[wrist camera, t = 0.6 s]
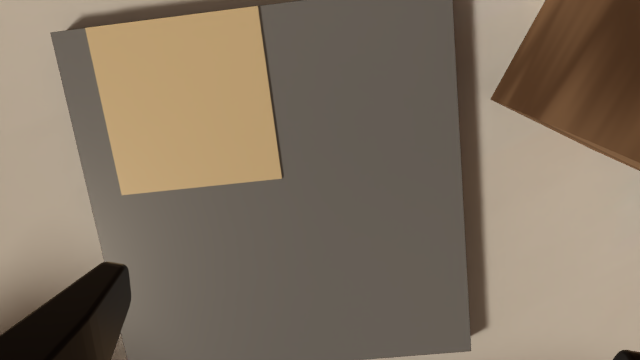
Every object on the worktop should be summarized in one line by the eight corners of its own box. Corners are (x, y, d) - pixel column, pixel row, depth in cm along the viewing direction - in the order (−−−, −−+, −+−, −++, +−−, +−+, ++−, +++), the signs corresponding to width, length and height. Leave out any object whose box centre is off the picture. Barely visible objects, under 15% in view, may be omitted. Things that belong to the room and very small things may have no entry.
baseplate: (466, 339, 26) (471, 352, 24) (139, 365, 27) (130, 379, 26) (446, -17, 22) (451, -20, 20) (62, 32, 23) (49, 32, 22)
